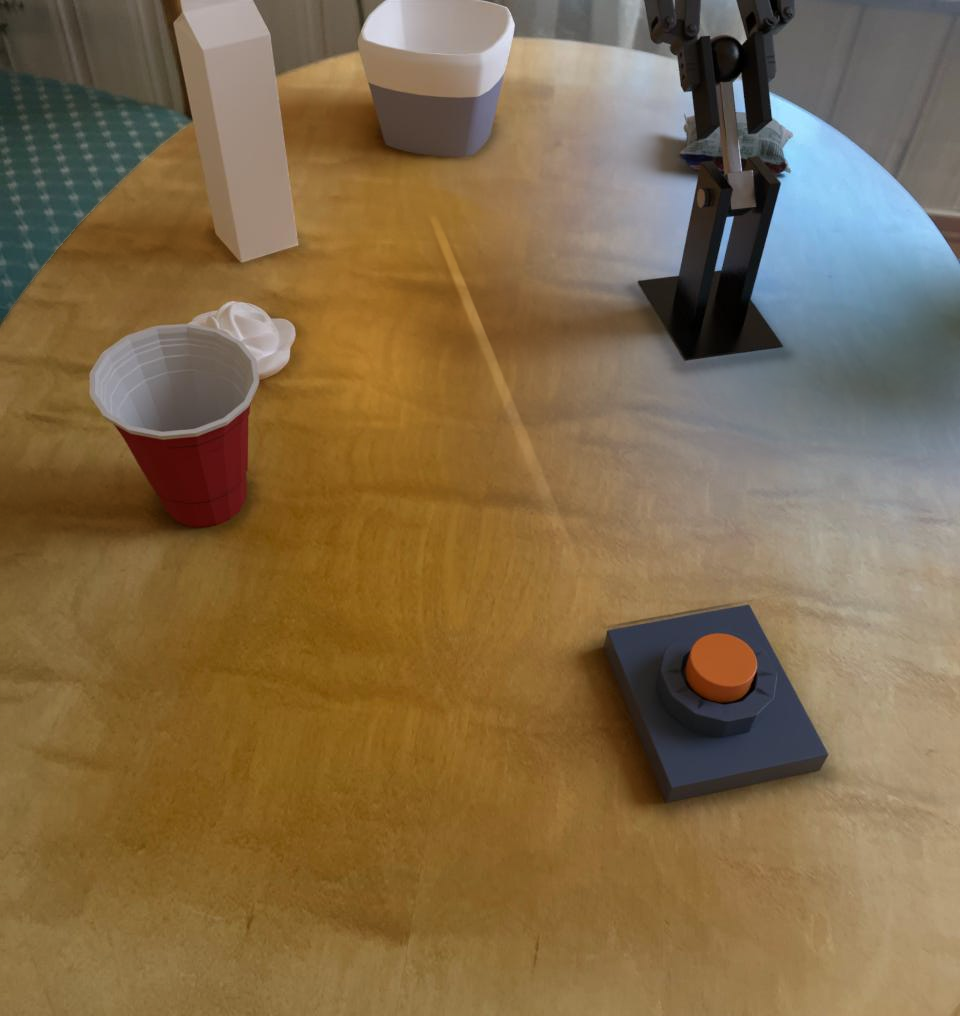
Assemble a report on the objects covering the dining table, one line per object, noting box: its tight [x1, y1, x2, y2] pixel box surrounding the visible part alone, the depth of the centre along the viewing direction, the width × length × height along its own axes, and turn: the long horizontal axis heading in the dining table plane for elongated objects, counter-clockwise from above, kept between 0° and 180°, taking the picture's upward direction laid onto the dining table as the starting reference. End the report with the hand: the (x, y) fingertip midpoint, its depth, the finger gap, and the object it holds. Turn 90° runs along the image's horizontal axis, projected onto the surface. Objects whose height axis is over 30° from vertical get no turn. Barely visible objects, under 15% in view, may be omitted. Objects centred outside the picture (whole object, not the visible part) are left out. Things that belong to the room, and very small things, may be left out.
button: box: [685, 633, 757, 703], centre depth 61 cm, size 4×4×2 cm
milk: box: [172, 0, 299, 264], centre depth 88 cm, size 6×6×22 cm
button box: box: [603, 604, 829, 804], centre depth 63 cm, size 12×10×4 cm
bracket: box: [638, 156, 784, 361], centre depth 84 cm, size 12×9×14 cm
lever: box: [710, 34, 756, 218], centre depth 80 cm, size 13×4×4 cm
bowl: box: [357, 0, 516, 158], centre depth 106 cm, size 15×15×11 cm
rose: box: [186, 300, 297, 381], centre depth 84 cm, size 10×4×10 cm
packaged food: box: [677, 111, 794, 176], centre depth 106 cm, size 9×12×5 cm
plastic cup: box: [89, 323, 260, 529], centre depth 70 cm, size 11×11×12 cm
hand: (734, 129), depth 79 cm, fingers closed on lever, 4 cm apart
